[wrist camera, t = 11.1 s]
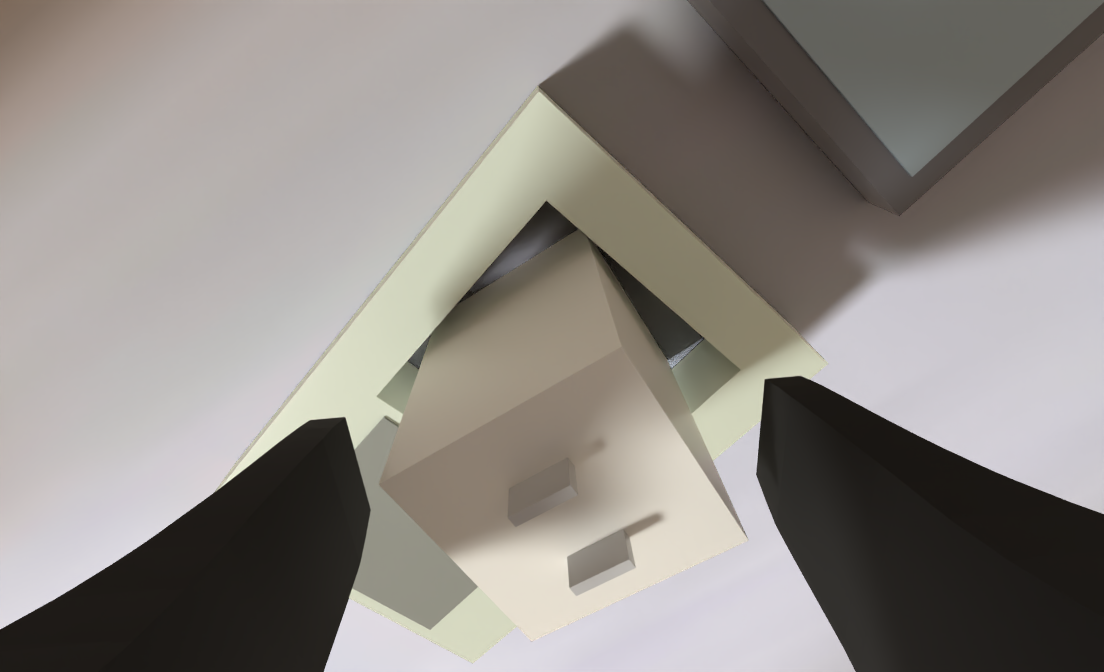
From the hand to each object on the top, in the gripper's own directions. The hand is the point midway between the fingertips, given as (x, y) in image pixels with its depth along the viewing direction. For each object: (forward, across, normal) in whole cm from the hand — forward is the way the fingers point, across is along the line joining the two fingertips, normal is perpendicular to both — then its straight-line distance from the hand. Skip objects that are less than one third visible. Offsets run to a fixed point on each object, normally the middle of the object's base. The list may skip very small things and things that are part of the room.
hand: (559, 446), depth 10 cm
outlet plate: (+4, +1, +2) cm, 5 cm away
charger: (+4, 0, 0) cm, 4 cm away
